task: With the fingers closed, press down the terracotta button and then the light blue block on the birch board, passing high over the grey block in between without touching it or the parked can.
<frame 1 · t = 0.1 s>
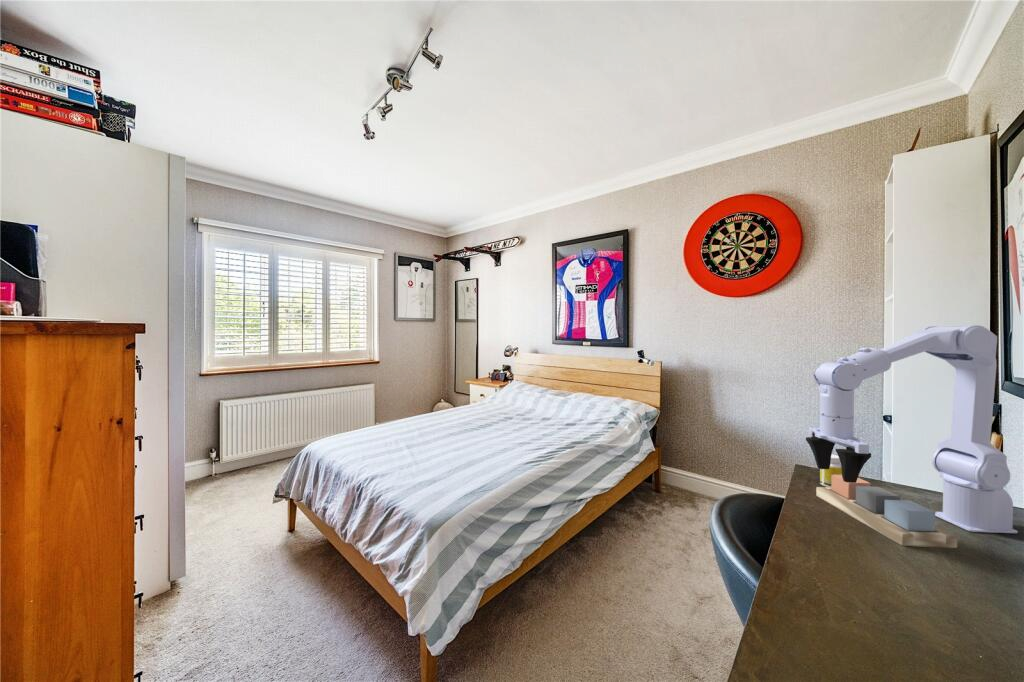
hand: (835, 475, 81), 10 cm above the table, fingers open, 7 cm apart
grey block: (877, 499, 82), point 4 cm above the table, slide at 0.0 cm
light blue block: (908, 515, 75), point 4 cm above the table, slide at 0.0 cm
board: (876, 518, 82), on the table
button terracotta: (850, 486, 89), point 4 cm above the table, slide at 0.0 cm
supplement bottle: (831, 486, 99), on the table
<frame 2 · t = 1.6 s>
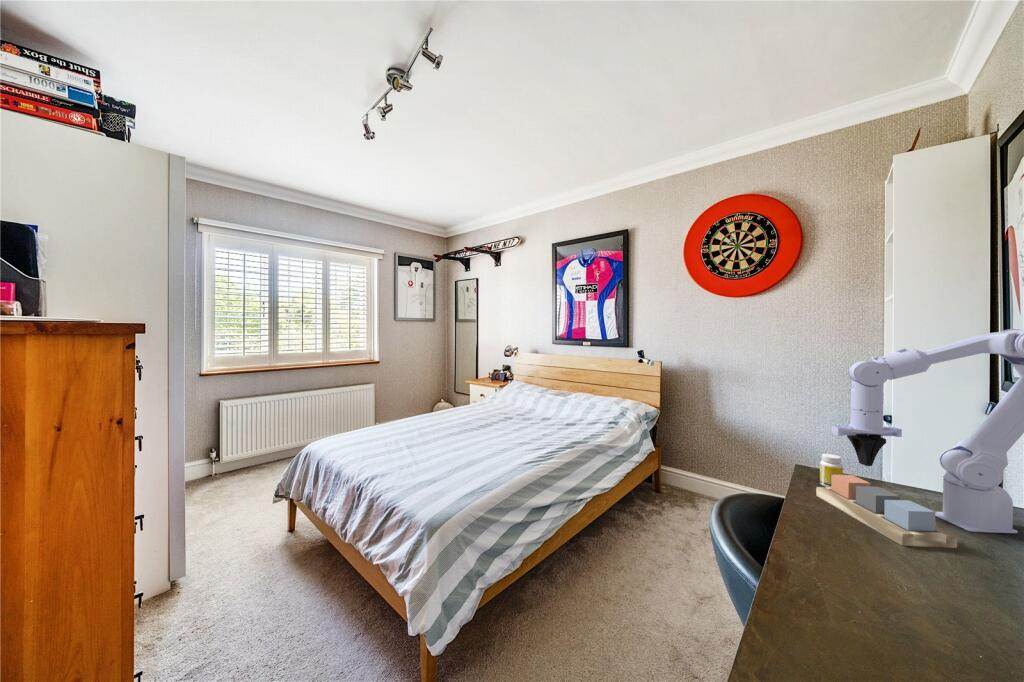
hand: (865, 464, 88), 10 cm above the table, fingers closed
nothing on the table moved.
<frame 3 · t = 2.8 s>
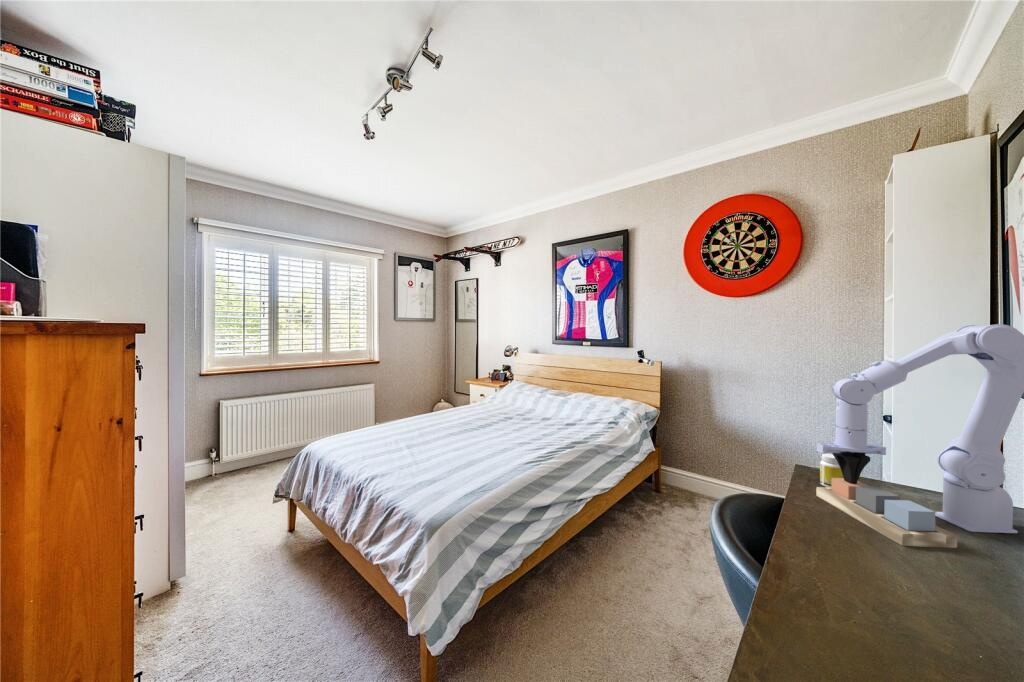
hand: (850, 482, 89), 5 cm above the table, fingers closed, pressing on button terracotta
button terracotta: (850, 490, 89), point 3 cm above the table, slide at 0.9 cm, touching gripper
everything else where it was.
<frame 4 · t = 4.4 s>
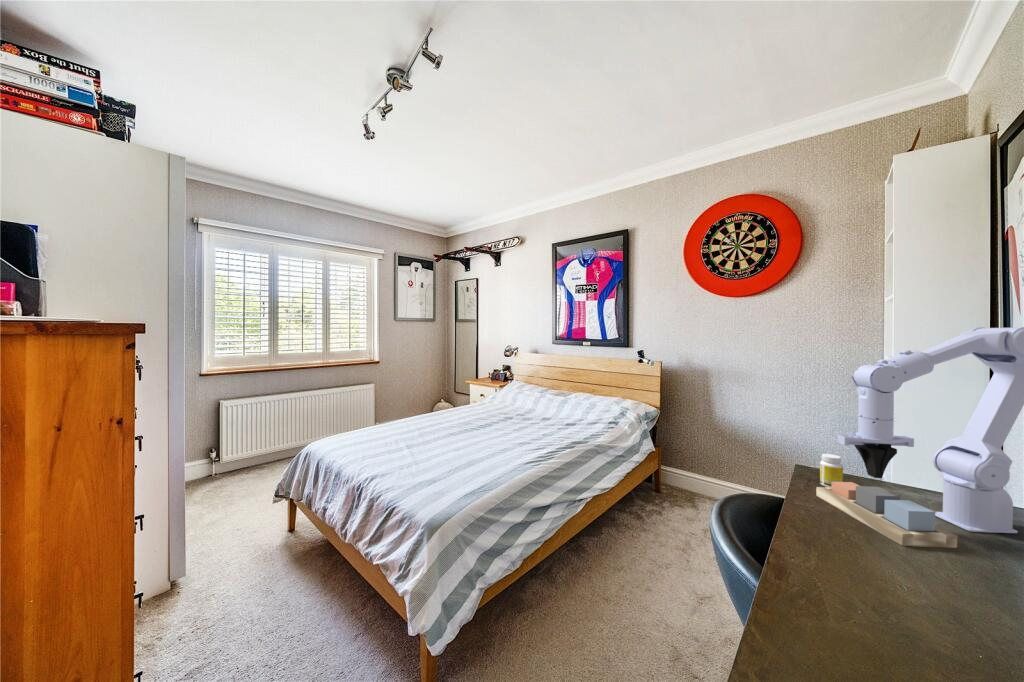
hand: (874, 476, 82), 9 cm above the table, fingers closed
button terracotta: (850, 494, 89), point 2 cm above the table, slide at 1.8 cm
everything else where it was.
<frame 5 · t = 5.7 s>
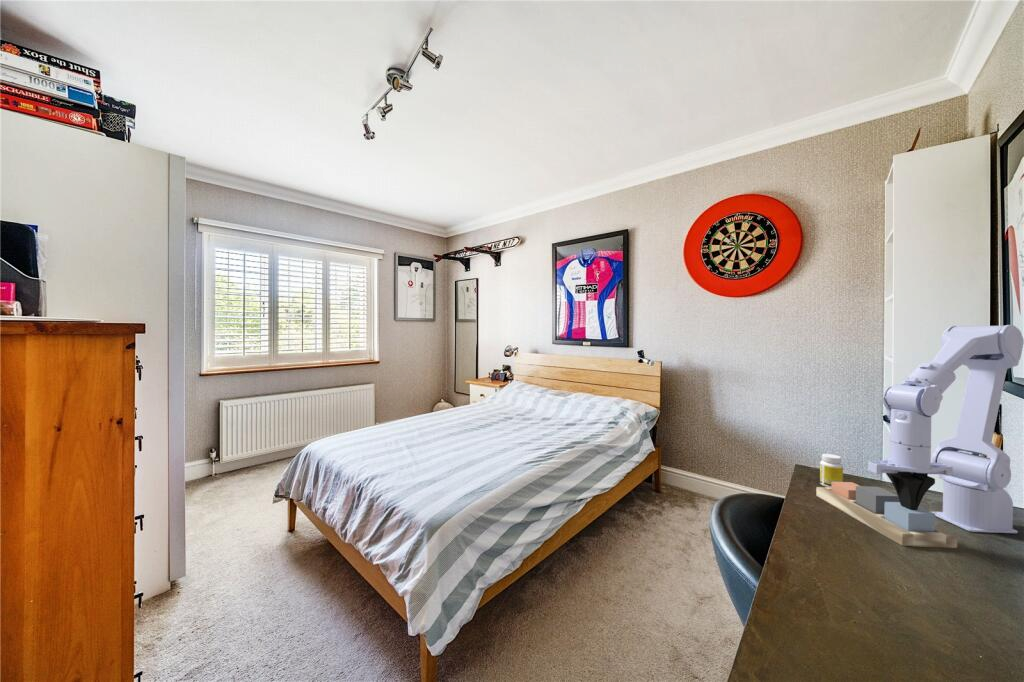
hand: (908, 507, 75), 6 cm above the table, fingers closed, pressing on light blue block
light blue block: (908, 517, 75), point 4 cm above the table, slide at 0.4 cm, touching gripper
everything else where it was.
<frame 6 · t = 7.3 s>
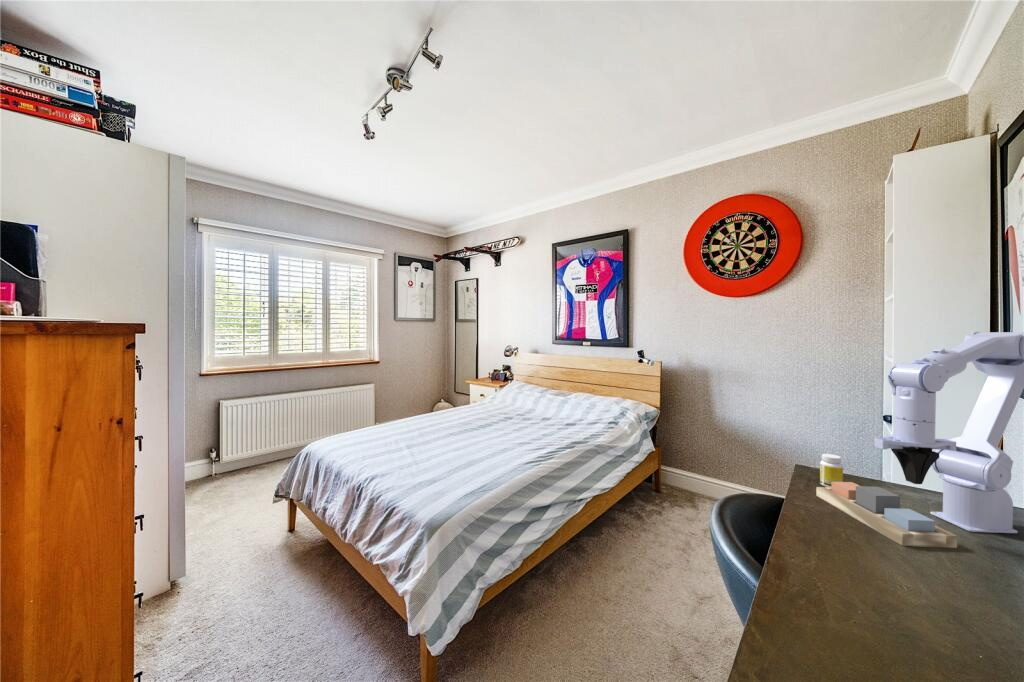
hand: (913, 482, 77), 10 cm above the table, fingers closed
light blue block: (908, 523, 75), point 2 cm above the table, slide at 1.8 cm
everything else where it was.
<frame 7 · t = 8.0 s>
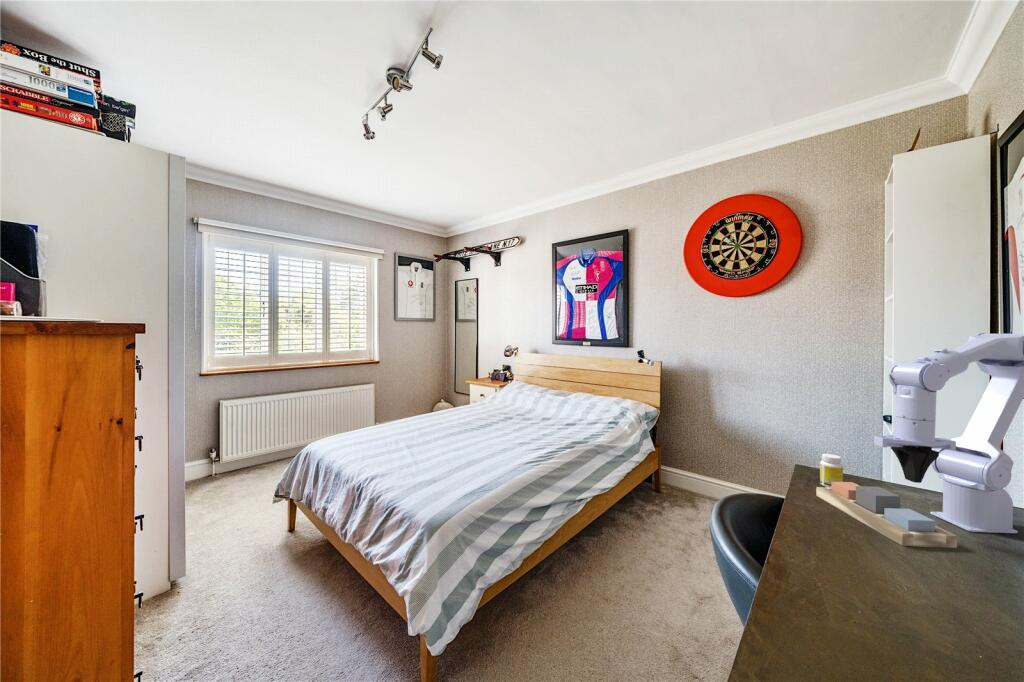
hand: (913, 480, 77), 10 cm above the table, fingers closed
nothing on the table moved.
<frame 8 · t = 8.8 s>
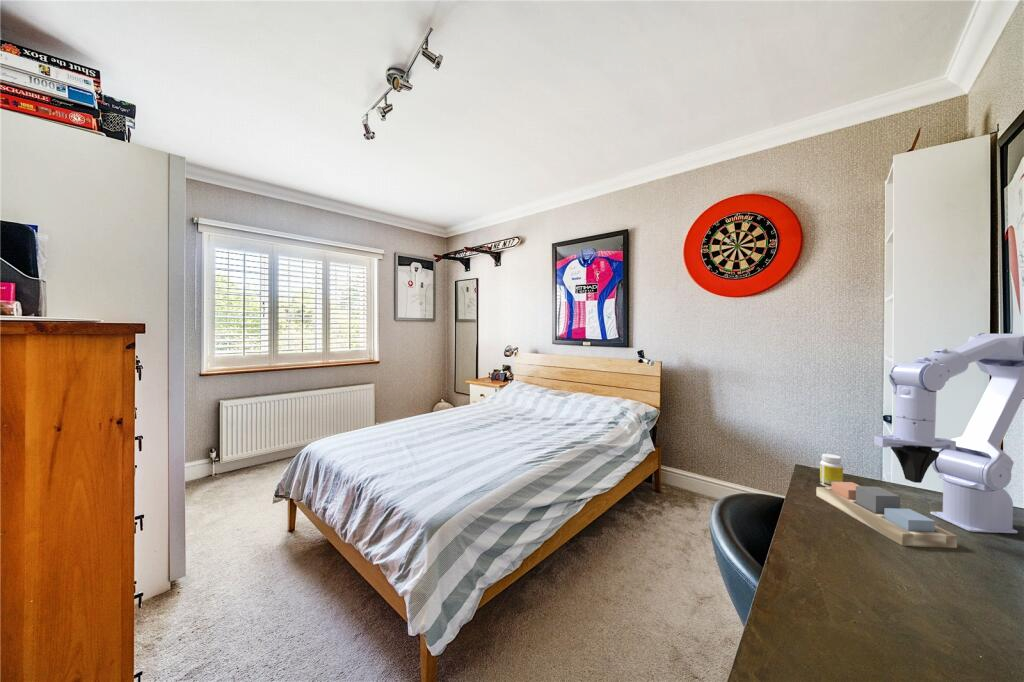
hand: (913, 480, 77), 10 cm above the table, fingers closed
nothing on the table moved.
at the end: button terracotta slide at 1.8 cm; light blue block slide at 1.8 cm; grey block slide at 0.0 cm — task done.
